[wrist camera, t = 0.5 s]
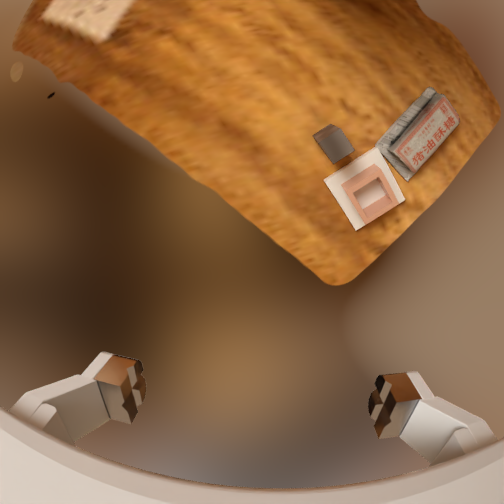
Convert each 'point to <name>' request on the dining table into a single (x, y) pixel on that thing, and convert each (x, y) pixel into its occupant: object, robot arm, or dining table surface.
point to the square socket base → (365, 188)
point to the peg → (333, 143)
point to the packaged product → (418, 132)
